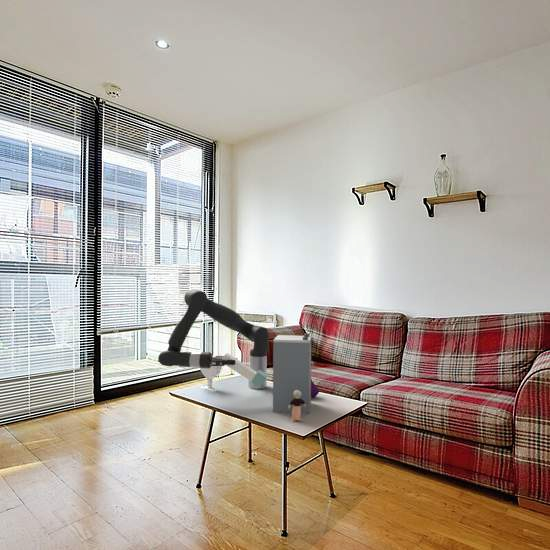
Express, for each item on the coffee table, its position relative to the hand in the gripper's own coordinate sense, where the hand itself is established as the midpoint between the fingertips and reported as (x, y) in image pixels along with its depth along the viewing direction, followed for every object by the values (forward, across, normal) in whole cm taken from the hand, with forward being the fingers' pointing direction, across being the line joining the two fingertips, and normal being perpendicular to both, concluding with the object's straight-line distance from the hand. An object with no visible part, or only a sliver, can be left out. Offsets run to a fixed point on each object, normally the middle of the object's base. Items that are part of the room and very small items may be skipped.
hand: (236, 361), depth 191 cm
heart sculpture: (-20, +25, +20) cm, 38 cm away
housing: (+27, 0, +20) cm, 33 cm away
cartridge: (+2, 0, +5) cm, 5 cm away
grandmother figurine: (+31, -17, +20) cm, 41 cm away
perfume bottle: (+34, +18, +20) cm, 43 cm away
